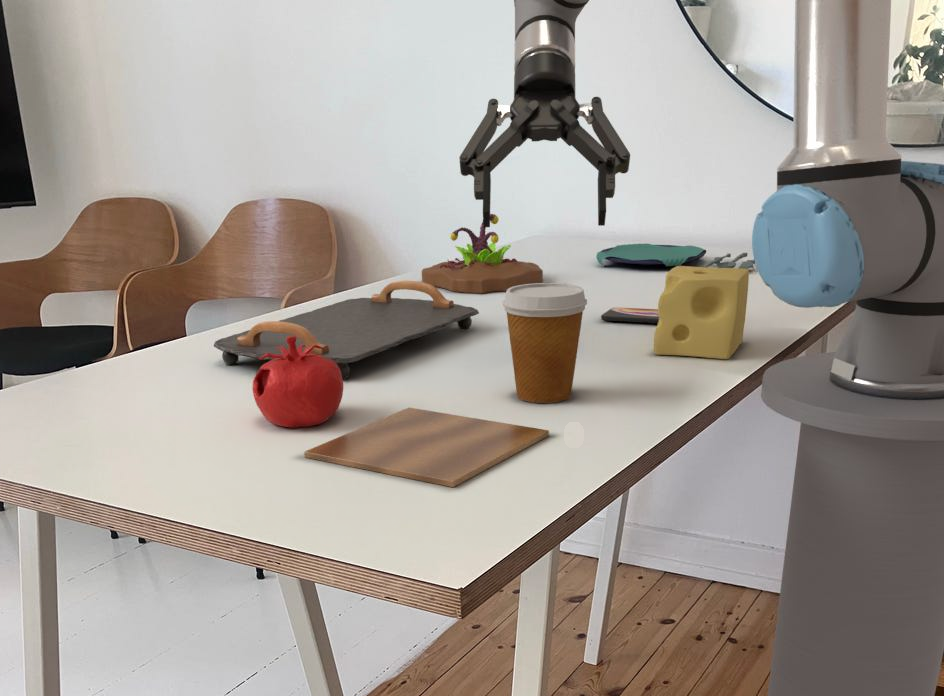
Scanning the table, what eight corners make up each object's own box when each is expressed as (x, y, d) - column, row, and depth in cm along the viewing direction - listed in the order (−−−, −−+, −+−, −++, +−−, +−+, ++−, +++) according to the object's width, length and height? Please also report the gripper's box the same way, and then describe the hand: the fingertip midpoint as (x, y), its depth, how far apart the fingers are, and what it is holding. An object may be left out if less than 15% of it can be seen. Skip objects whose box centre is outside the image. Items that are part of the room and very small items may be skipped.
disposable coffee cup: (593, 388, 130) (596, 283, 125) (573, 410, 122) (576, 299, 117) (516, 383, 133) (516, 280, 128) (492, 404, 125) (491, 296, 120)
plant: (563, 282, 192) (564, 214, 187) (471, 297, 182) (470, 225, 177) (496, 268, 207) (495, 205, 202) (408, 281, 197) (405, 214, 192)
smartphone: (612, 306, 168) (710, 311, 163) (612, 312, 169) (710, 317, 164) (599, 315, 162) (700, 320, 157) (599, 321, 162) (700, 327, 157)
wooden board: (549, 435, 114) (549, 430, 114) (453, 487, 101) (453, 481, 101) (409, 412, 123) (408, 407, 123) (304, 457, 110) (303, 451, 110)
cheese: (652, 355, 144) (657, 276, 139) (670, 337, 153) (675, 262, 148) (732, 361, 140) (740, 280, 136) (746, 342, 149) (754, 265, 144)
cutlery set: (622, 252, 220) (622, 240, 219) (770, 261, 207) (771, 248, 206) (581, 268, 205) (581, 255, 204) (738, 278, 192) (739, 264, 191)
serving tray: (364, 313, 173) (362, 272, 170) (493, 325, 162) (492, 282, 160) (196, 369, 144) (189, 320, 141) (340, 388, 133) (336, 336, 130)
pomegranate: (357, 408, 125) (351, 325, 121) (328, 434, 116) (321, 346, 112) (276, 405, 127) (267, 323, 123) (241, 430, 119) (231, 343, 114)
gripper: (643, 94, 138) (647, 237, 132) (445, 98, 139) (440, 240, 133) (650, 46, 131) (654, 195, 125) (441, 51, 132) (435, 199, 126)
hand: (544, 219), depth 129 cm, fingers open, 13 cm apart
